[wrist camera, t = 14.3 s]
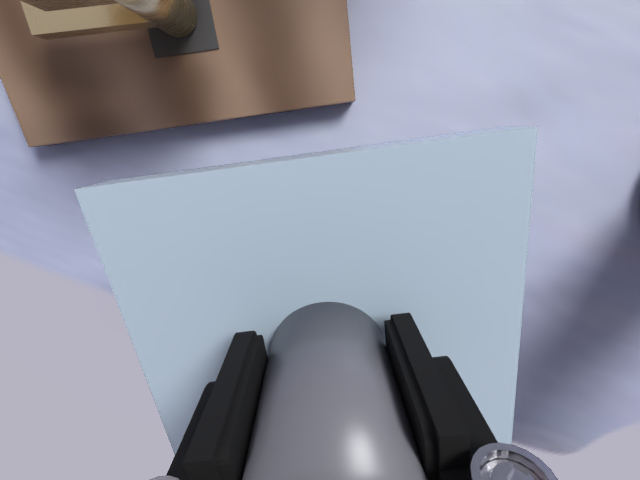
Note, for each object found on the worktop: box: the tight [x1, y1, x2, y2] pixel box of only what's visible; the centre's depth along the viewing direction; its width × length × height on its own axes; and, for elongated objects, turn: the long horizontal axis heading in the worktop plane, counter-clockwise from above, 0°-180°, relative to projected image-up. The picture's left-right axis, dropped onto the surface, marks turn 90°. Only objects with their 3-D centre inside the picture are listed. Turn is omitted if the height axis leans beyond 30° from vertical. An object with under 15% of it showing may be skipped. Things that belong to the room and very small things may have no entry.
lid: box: [74, 126, 538, 480], centre depth 9 cm, size 12×12×6 cm
